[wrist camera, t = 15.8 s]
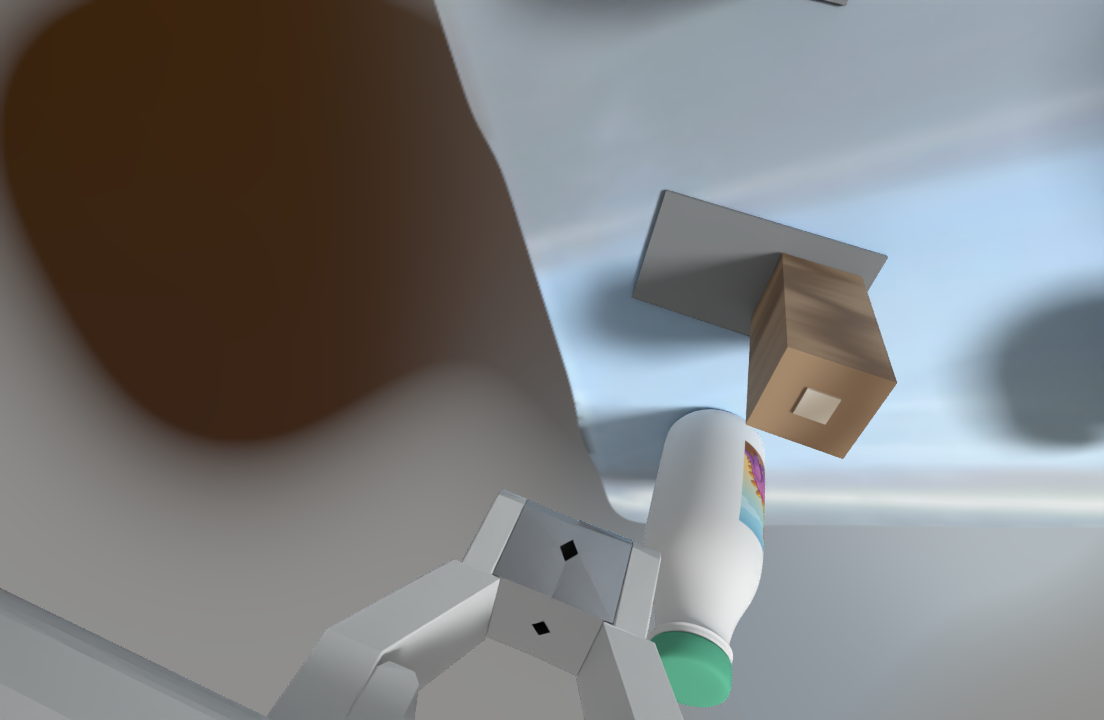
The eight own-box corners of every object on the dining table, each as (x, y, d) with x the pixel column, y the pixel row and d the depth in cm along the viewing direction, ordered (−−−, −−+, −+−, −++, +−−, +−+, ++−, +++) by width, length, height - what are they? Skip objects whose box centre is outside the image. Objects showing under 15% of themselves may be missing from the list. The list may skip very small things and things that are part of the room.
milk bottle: (654, 460, 49) (598, 687, 33) (684, 392, 44) (636, 617, 28) (742, 493, 48) (728, 744, 32) (781, 427, 43) (789, 681, 27)
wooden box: (750, 320, 39) (744, 428, 29) (782, 252, 36) (787, 348, 26) (823, 343, 38) (841, 463, 29) (862, 276, 35) (897, 384, 26)
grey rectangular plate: (632, 295, 41) (631, 297, 41) (666, 189, 37) (665, 190, 36) (825, 359, 39) (825, 361, 39) (887, 255, 35) (887, 257, 35)
